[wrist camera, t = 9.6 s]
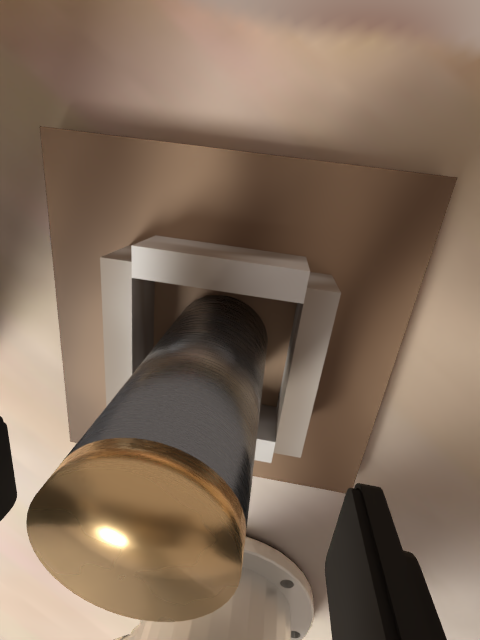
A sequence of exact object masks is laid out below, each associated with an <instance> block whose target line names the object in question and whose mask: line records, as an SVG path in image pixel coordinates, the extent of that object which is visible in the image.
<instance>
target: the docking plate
mask: <svg viewBox="0 0 480 640" xmlns="http://www.w3.org/2000/svg"><path fill="white" fill-rule="evenodd" d="M40 133H41V144H42V154H43V164H44V175H45V185H46V195H47V206H48V216H49V226H50V236H51V247H52V257H53V267H54V278H55V288H56V298H57V309H58V319H59V329H60V340H61V350H62V360H63V370H64V381H65V391H66V401H67V412H68V422H69V432H70V442H75V443H78V442H79V440H80V439H81V438H82V437H83V435H84V434H85V433H86V432H87V430H88V429H89V428H90V427H91V425H92V424H93V423H94V422H95V420H96V419H97V418H98V417H99V415H100V414H101V413H102V412H103V410H104V409H105V408H106V407H107V405H108V404H109V403H110V402H111V400H112V399H113V398H114V397H115V395H116V394H117V393H118V392H119V390H120V389H121V388H122V387H123V385H124V384H125V383H126V382H127V380H128V379H129V378H130V377H131V375H132V374H133V373H134V372H135V370H136V369H137V368H138V367H139V365H140V364H141V363H142V362H143V360H144V359H145V358H146V357H147V355H148V354H149V353H150V352H151V350H152V349H153V348H154V347H155V345H156V344H157V343H158V342H159V340H160V339H161V338H162V337H163V335H164V334H165V333H166V332H167V330H168V329H169V328H170V327H171V325H172V324H173V323H174V322H175V320H176V319H177V318H178V317H179V315H180V314H181V313H182V312H183V311H184V309H185V308H186V307H187V306H188V305H190V304H191V303H192V302H194V301H195V300H198V299H200V298H202V297H206V296H211V295H225V296H230V297H233V298H236V299H239V300H241V301H243V302H244V303H246V304H247V305H249V306H250V307H251V308H252V309H254V310H255V311H256V313H257V314H258V315H259V316H260V318H261V319H262V321H263V323H264V325H265V328H266V332H267V338H268V344H267V353H266V362H265V371H264V380H263V388H262V397H261V406H260V415H259V423H258V432H257V441H256V450H255V458H254V467H253V476H256V477H262V478H267V479H272V480H278V481H283V482H288V483H294V484H299V485H304V486H310V487H315V488H320V489H326V490H331V491H336V492H342V493H346V492H347V490H348V488H353V485H354V482H355V479H356V476H357V473H358V470H359V467H360V464H361V461H362V458H363V455H364V452H365V449H366V446H367V443H368V440H369V437H370V435H371V432H372V429H373V426H374V423H375V420H376V417H377V414H378V411H379V408H380V405H381V402H382V399H383V396H384V393H385V390H386V387H387V384H388V381H389V378H390V375H391V372H392V369H393V366H394V364H395V361H396V358H397V355H398V352H399V349H400V346H401V343H402V340H403V337H404V334H405V331H406V328H407V325H408V322H409V319H410V316H411V313H412V310H413V307H414V304H415V301H416V298H417V295H418V293H419V290H420V287H421V284H422V281H423V278H424V275H425V272H426V269H427V266H428V263H429V260H430V257H431V254H432V251H433V248H434V245H435V242H436V239H437V236H438V233H439V230H440V227H441V224H442V222H443V219H444V216H445V213H446V210H447V207H448V204H449V201H450V198H451V195H452V192H453V189H454V186H455V183H456V180H457V178H456V177H448V176H440V175H432V174H424V173H416V172H408V171H399V170H391V169H383V168H375V167H367V166H359V165H351V164H343V163H334V162H326V161H318V160H310V159H302V158H294V157H286V156H277V155H269V154H261V153H253V152H245V151H237V150H229V149H220V148H212V147H204V146H196V145H188V144H180V143H172V142H164V141H155V140H147V139H139V138H131V137H123V136H115V135H107V134H98V133H90V132H82V131H74V130H66V129H58V128H50V127H42V126H40Z"/></svg>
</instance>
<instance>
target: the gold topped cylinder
mask: <svg viewBox="0 0 480 640" xmlns="http://www.w3.org/2000/svg"><path fill="white" fill-rule="evenodd" d="M267 344H268V338H267V332H266V328H265V325H264V323H263V321H262V319H261V318H260V316H259V315H258V314H257V313H256V311H255V310H254V309H252V308H251V307H250V306H249V305H247V304H246V303H244V302H243V301H241V300H239V299H236V298H233V297H230V296H225V295H211V296H206V297H202V298H200V299H198V300H195V301H194V302H192V303H191V304H190V305H188V306H187V307H186V308H185V309H184V311H183V312H182V313H181V314H180V315H179V317H178V318H177V319H176V320H175V322H174V323H173V324H172V325H171V327H170V328H169V329H168V330H167V332H166V333H165V334H164V335H163V337H162V338H161V339H160V340H159V342H158V343H157V344H156V345H155V347H154V348H153V349H152V350H151V352H150V353H149V354H148V355H147V357H146V358H145V359H144V360H143V362H142V363H141V364H140V365H139V367H138V368H137V369H136V370H135V372H134V373H133V374H132V375H131V377H130V378H129V379H128V380H127V382H126V383H125V384H124V385H123V387H122V388H121V389H120V390H119V392H118V393H117V394H116V395H115V397H114V398H113V399H112V400H111V402H110V403H109V404H108V405H107V407H106V408H105V409H104V410H103V412H102V413H101V414H100V415H99V417H98V418H97V419H96V420H95V422H94V423H93V424H92V425H91V427H90V428H89V429H88V430H87V432H86V433H85V434H84V435H83V437H82V438H81V439H80V440H79V442H78V443H77V444H76V445H75V447H74V448H73V449H72V450H71V452H70V453H69V454H68V455H67V457H66V458H65V459H64V460H63V462H62V463H61V464H60V465H59V467H58V468H57V469H56V470H55V472H54V473H53V474H52V475H51V477H50V478H49V479H48V480H47V482H46V483H45V484H44V485H43V487H42V488H41V489H40V490H39V492H38V493H37V494H36V495H35V497H34V499H33V500H32V502H31V504H30V507H29V510H28V513H27V533H28V536H29V540H30V543H31V545H32V547H33V550H34V552H35V553H36V555H37V557H38V558H39V560H40V561H41V563H42V564H43V565H44V567H45V568H46V569H47V570H48V571H49V572H50V573H51V574H52V576H53V577H54V578H55V579H57V580H58V581H59V582H60V583H61V584H62V585H64V586H65V587H66V588H68V589H69V590H70V591H72V592H73V593H74V594H76V595H78V596H79V597H81V598H83V599H84V600H86V601H88V602H90V603H92V604H94V605H96V606H98V607H100V608H103V609H105V610H107V611H110V612H113V613H116V614H119V615H122V616H126V617H130V618H134V619H140V620H145V621H154V622H178V621H186V620H192V619H196V618H199V617H203V616H205V615H207V614H210V613H212V612H214V611H216V610H217V609H219V608H221V607H222V606H223V605H224V604H225V603H227V602H228V601H229V600H230V598H231V597H232V596H233V595H234V593H235V591H236V589H237V588H238V585H239V582H240V579H241V572H242V563H243V555H244V546H245V537H246V528H247V520H248V511H249V502H250V493H251V485H252V476H253V467H254V458H255V450H256V441H257V432H258V423H259V415H260V406H261V397H262V388H263V380H264V371H265V362H266V353H267Z"/></svg>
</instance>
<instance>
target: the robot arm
mask: <svg viewBox="0 0 480 640" xmlns="http://www.w3.org/2000/svg"><path fill="white" fill-rule="evenodd" d="M16 498H17V491H16V484H15V477H14V470H13V463H12V457H11V450H10V443H9V436H8V430H7V425H6V423H4V422H3V419H2V417H1V416H0V521H1V520H2V519H3V518H4V517H5V515H6V514H7V513H8V512H9V511H10V510H11V508H12V507H13V505H14V504H15V501H16ZM325 576H326V585H327V594H328V603H329V612H330V622H331V631H332V640H447V639H446V636H445V633H444V631H443V628H442V625H441V622H440V620H439V617H438V614H437V612H436V609H435V606H434V603H433V601H432V598H431V595H430V592H429V590H428V587H427V584H426V582H425V579H424V576H423V573H422V571H421V568H420V565H419V563H418V561H417V559H416V557H415V556H414V555H413V554H412V553H410V552H407V551H403V550H402V547H401V544H400V541H399V538H398V535H397V532H396V529H395V526H394V523H393V520H392V517H391V514H390V511H389V508H388V505H387V502H386V499H385V496H384V493H383V491H382V489H381V488H380V487H376V486H370V485H365V484H360V483H357V484H356V485H355V488H354V489H353V488H348V490H347V492H346V496H345V499H344V502H343V505H342V508H341V512H340V515H339V518H338V521H337V525H336V528H335V531H334V534H333V537H332V541H331V544H330V547H329V550H328V554H327V557H326V563H325ZM313 618H314V607H313V595H312V591H311V587H310V584H309V583H308V581H307V579H306V577H305V575H304V574H303V573H302V571H301V570H300V569H299V568H298V567H297V566H296V565H295V564H294V563H293V562H292V561H291V560H290V559H288V558H287V557H286V556H285V555H283V554H282V553H281V552H279V551H277V550H276V549H274V548H272V547H270V546H269V545H267V544H265V543H262V542H260V541H257V540H255V539H252V538H249V537H245V546H244V555H243V563H242V572H241V579H240V582H239V585H238V588H237V589H236V591H235V593H234V595H233V596H232V597H231V598H230V600H229V601H228V602H227V603H225V604H224V605H223V606H222V607H221V608H219V609H217V610H216V611H214V612H212V613H210V614H207V615H205V616H203V617H199V618H196V619H192V620H186V621H178V622H154V621H145V620H141V622H140V625H138V626H137V627H135V628H134V629H133V630H132V632H131V634H130V635H126V636H122V637H120V638H117V639H114V640H302V639H303V638H304V637H305V636H306V635H307V633H308V631H309V629H310V628H311V626H312V622H313Z"/></svg>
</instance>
